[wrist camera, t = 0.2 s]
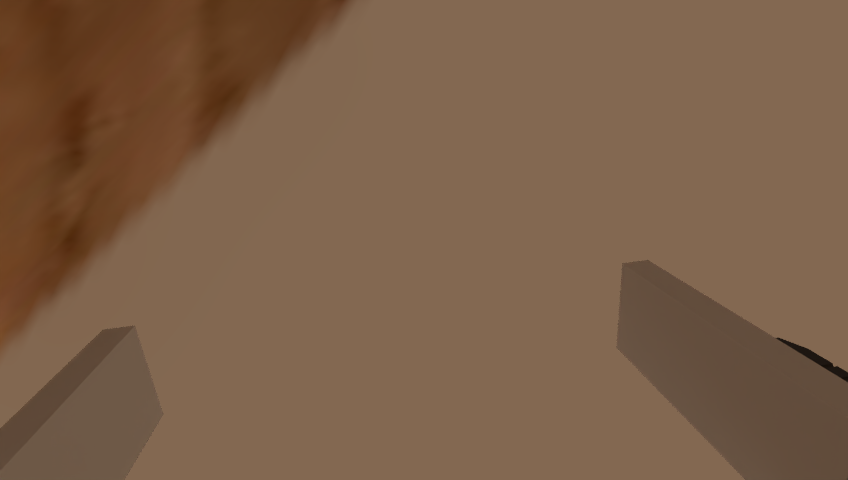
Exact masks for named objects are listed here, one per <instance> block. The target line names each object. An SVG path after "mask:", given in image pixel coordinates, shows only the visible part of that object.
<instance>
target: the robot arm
mask: <svg viewBox="0 0 848 480" xmlns="http://www.w3.org/2000/svg"><path fill="white" fill-rule="evenodd" d="M617 349H618V350H619V351H620V352H621V353H622V354H623V355H624V356H625V357H626V358H627V359H628V360H629V361H630V362H631V363H632V364H633V365H634V366H635V367H636V368H637V369H638V370H639V371H640V372H641V373H642V374H643V375H644V376H645V377H646V378H647V379H648V380H649V381H650V382H651V383H652V384H653V386H655V387H656V389H657V390H658V391H659V392H660V393H661V394H662V395H663V396H664V397H665V398H666V399H667V400H668V401H669V402H670V403H671V404H672V405H673V406H674V407H675V408H676V409H677V410H678V411H679V412H680V413H681V414H682V415H683V416H684V417H685V418H686V419H687V420H688V421H689V422H690V424H692V425H693V427H694V428H696V430H697V431H698V432H699V433H700V434H701V435H702V436H703V437H704V438H705V439H706V440H707V441H708V442H709V443H710V444H711V445H712V446H713V447H714V448H715V449H716V450H717V451H718V452H719V453H720V454H721V455H722V456H723V457H724V458H725V459H726V460H727V461H728V462H729V464H730V465H732V467H733V468H734V469H735V470H736V471H737V472H738V473H739V474H740V475H741V476H742V477H743V478H744V479H745V480H848V372H846V371H844V370H843V369H841V368H839V367H837V366H836V367H834V366H833V364H832V363H831V362H829V361H828V360H826V359H824V358H823V357H821V356H819V355H817V354H816V353H814V352H812V351H811V350H809V349H807V348H804V347H801V346H799V345H796V344H794V343H791V342H789V341H786V340H783V339H780V338H774V337H773V336H771V335H769V334H768V333H766V332H765V331H763V330H761V329H760V328H758V327H756V326H755V325H753V324H752V323H750V322H748V321H747V320H745V319H743V318H742V317H740V316H738V315H737V314H735V313H733V312H732V311H730V310H729V309H727V308H725V307H723V306H722V305H720V304H719V303H717V302H715V301H714V300H712V299H711V298H709V297H707V296H706V295H704V294H702V293H700V292H699V291H697V290H696V289H694V288H693V287H691V286H689V285H688V284H686V283H684V282H683V281H681V280H679V279H678V278H676V277H674V276H673V275H671V274H670V273H668V272H667V271H665V270H663V269H662V268H660V267H658V266H657V265H655V264H653V263H652V262H650V261H649V260H645V261H637V262H630V263H623V264H622V277H621V291H620V307H619V320H618V335H617ZM162 415H163V412H162V408H161V406H160V402H159V399H158V396H157V393H156V390H155V387H154V384H153V381H152V378H151V375H150V371H149V368H148V365H147V362H146V359H145V356H144V353H143V350H142V346H141V343H140V340H139V337H138V334H137V331H136V328H135V326H128V327H121V328H113V329H105V330H102V331H101V332H100V333H99V334H98V335H97V336H96V337H95V338H94V339H93V340H92V341H91V342H90V343H89V344H88V345H87V346H86V347H85V348H84V349H82V350H81V351H80V352H79V353H78V354H77V356H75V357H74V358H73V359H72V360H71V361H70V362H69V363H68V364H67V365H66V366H65V367H64V368H63V369H62V370H61V371H60V372H59V373H58V374H56V375H55V376H54V377H53V378H52V379H51V380H50V381H49V382H48V383H47V384H46V385H45V386H44V387H43V388H42V389H41V390H40V391H39V392H38V393H37V394H36V395H35V396H34V397H33V398H32V399H30V401H28V402H27V403H26V404H25V405H24V406H23V407H22V408H21V409H20V410H19V411H18V412H17V413H16V414H15V415H14V416H13V417H12V418H11V419H10V420H9V421H8V422H7V423H6V424H5V425H3V426H2V427H1V428H0V480H125V478H126V476H127V475H128V473H129V471H130V469H131V468H132V466H133V464H134V463H135V461H136V459H137V458H138V456H139V454H140V452H141V451H142V449H143V448H144V446H145V444H146V443H147V441H148V439H149V437H150V436H151V434H152V432H153V431H154V429H155V427H156V426H157V424H158V422H159V420H160V419H161V417H162Z"/></svg>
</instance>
